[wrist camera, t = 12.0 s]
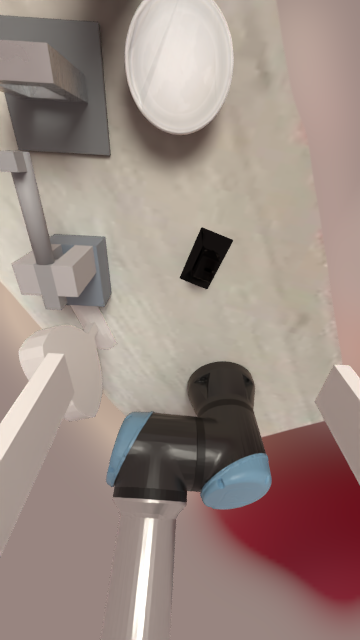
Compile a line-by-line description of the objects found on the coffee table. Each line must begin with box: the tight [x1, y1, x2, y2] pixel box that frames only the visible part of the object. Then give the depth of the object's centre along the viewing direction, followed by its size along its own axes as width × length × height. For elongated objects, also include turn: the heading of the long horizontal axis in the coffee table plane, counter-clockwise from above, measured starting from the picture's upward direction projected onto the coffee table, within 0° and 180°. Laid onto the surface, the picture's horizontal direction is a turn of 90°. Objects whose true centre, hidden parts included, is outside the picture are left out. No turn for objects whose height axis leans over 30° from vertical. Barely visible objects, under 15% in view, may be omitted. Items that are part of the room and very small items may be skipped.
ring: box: [0, 40, 89, 103], centre depth 26 cm, size 2×8×10 cm, turn 87°
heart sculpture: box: [19, 305, 117, 421], centre depth 42 cm, size 16×5×18 cm, turn 15°
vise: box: [0, 151, 111, 310], centre depth 34 cm, size 21×8×14 cm, turn 177°
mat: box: [0, 15, 111, 155], centre depth 30 cm, size 12×12×1 cm
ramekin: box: [124, 0, 234, 135], centre depth 28 cm, size 11×11×5 cm
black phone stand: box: [180, 228, 233, 289], centre depth 41 cm, size 12×7×5 cm, turn 158°
